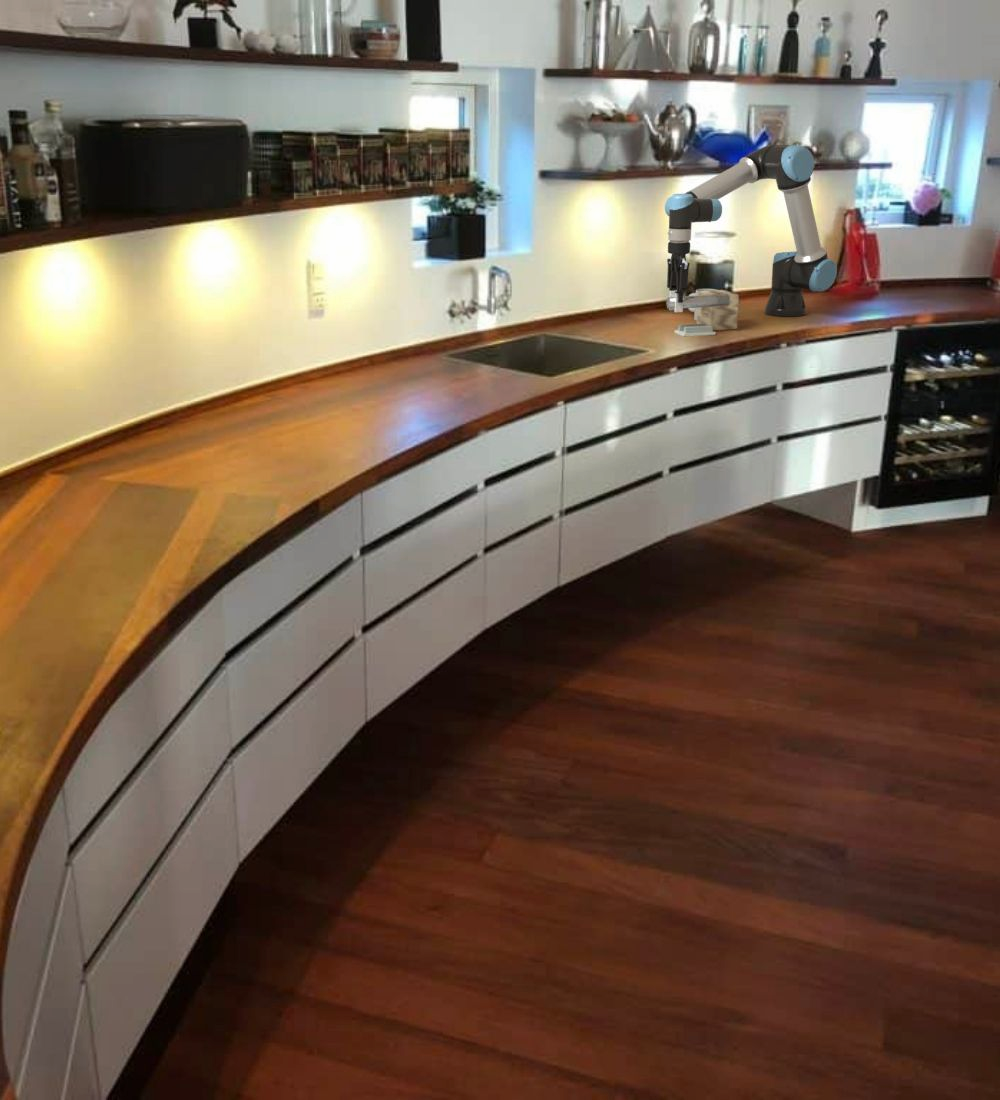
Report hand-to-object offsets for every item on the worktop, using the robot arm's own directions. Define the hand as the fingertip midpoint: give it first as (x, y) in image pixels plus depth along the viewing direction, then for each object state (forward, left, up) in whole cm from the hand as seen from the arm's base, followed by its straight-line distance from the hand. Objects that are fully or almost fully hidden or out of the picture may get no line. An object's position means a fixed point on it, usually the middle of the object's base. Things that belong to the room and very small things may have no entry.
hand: (675, 310), depth 418 cm
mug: (-22, -25, -9) cm, 34 cm away
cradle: (-8, 0, -8) cm, 11 cm away
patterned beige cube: (-21, -10, -8) cm, 24 cm away
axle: (-8, 0, +3) cm, 9 cm away
